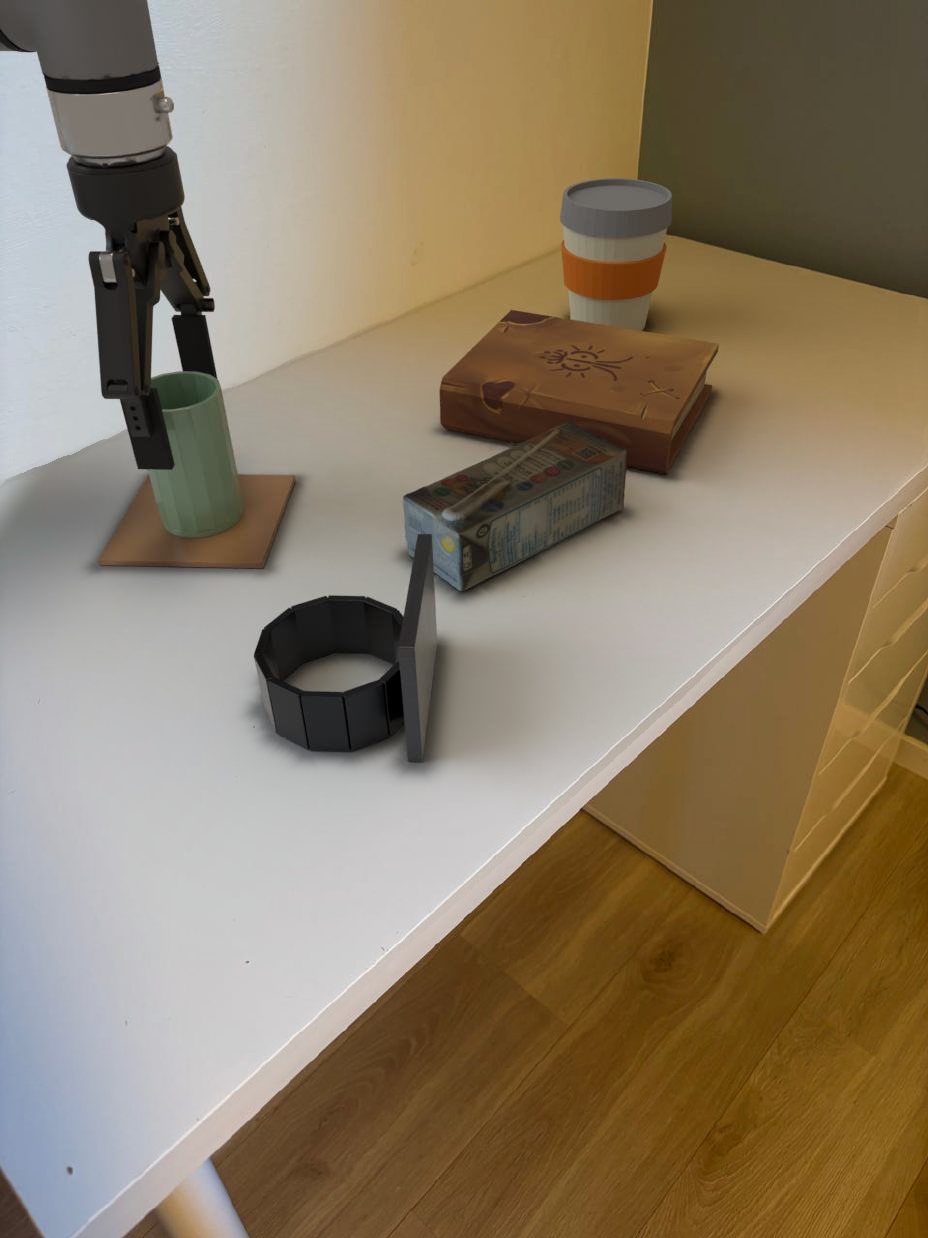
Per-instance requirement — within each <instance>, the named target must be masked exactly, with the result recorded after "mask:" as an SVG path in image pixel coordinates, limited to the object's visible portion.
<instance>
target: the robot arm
mask: <svg viewBox="0 0 928 1238" xmlns="http://www.w3.org/2000/svg"><path fill="white" fill-rule="evenodd" d="M0 52H18V53H36V54H37V57H38V62H39V66H40V69H41V73H42V75H43V79H44V82H45V89H46V93H47V97H48V101H49V104H50V109H51V113H52V116H53V122H54V125H55V129H56V133H57V138H58V141H59V145H60V148H61V150H62V151H63V152H65V154H68V155H70V157H69V158H68V161H67V163H66V165H65V167H66V169H67V174H68V177H69V182H70V187H71V190H72V194H73V197H74V201H75V205H76V209H77V211H78V212H79V213H80V215H81V216H83V217H84V218H86V219H88V220H90V221H94V222H96V223H98V224H99V225H101V226H102V227H103V228H104V235H105V250H98V251H97V250H92V251H91V250H90V251H89V252H88V264H89V270H90V275H91V279H92V283H93V284H92V285H93V292H94V293H93V294H94V304H95V317H96V318H95V319H96V321H95V322H96V335H97V337H96V338H97V350H98V364H99V380H100V391H101V396H102V398H103V399H104V400H119V403H120V406H121V410H122V414H123V417H124V421H125V425H126V429H127V433H128V436H129V441H130V444H131V449H132V452H133V456H134V460H135V464H136V467H137V470H148V469H153V470H172V469H173V467H174V465H175V463H174V459H173V455H172V451H171V446H170V442H169V438H168V433H167V429H166V425H165V421H164V416H163V412H162V408H161V403H160V399H159V395H158V391H157V388H151V378H152V362H153V361H152V360H153V359H152V358H153V330H154V329H153V325H154V324H153V323H154V307H155V306H156V305H157V304H159V302H160V301H161V293H162V294H163V296H164V297H165V298H166V300H167V301H168V303H169V304H170V306H171V307H172V309H173V310H174V311H175V313H180V314H173V316H172V317H171V322H172V327H173V333H174V337H175V342H176V346H177V351H178V356H179V361H180V365H181V371H196V372H201V373H206V374H209V375H211V376H213V377H215V378H216V379H218V375H217V369H216V364H215V358H214V353H213V348H212V343H211V337H210V332H209V326H208V322H207V321H208V320H207V315H206V314H203V313H214V312H215V308H216V305H215V304H216V303H215V299H214V298H213V297H209V296H210V294H211V286H210V283H209V280H208V278H207V275H206V273H205V270H204V268H203V265H202V262H201V260H200V257H199V255H198V252H197V249H196V247H195V244H194V241H193V239H192V235H191V234H190V231H189V229H188V226H187V223H186V221H185V217H184V212H183V208H182V206H183V205H184V203H185V199H186V198H185V197H186V196H185V190H184V185H183V180H182V173H181V168H180V164H179V158H178V154H177V152H175V151H174V149H173V148H172V147H170V146H168V145H170V143H171V142H172V140H173V138H174V137H173V132H172V131H173V130H172V126H171V125H172V124H171V121H170V116H169V114H170V113H173V112H174V110H175V103H174V101H173V99H172V97H169V96H166V95H165V91H164V88H165V87H164V84H163V83H164V82H163V77H162V73H161V68H160V65H159V64H160V63H159V60H158V55H157V48H156V43H155V38H154V31H153V26H152V21H151V15H150V9H149V4H148V0H0ZM194 280H195V281H194Z"/></svg>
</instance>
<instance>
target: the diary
mask: <svg viewBox="0 0 928 1238" xmlns="http://www.w3.org/2000/svg"><path fill="white" fill-rule="evenodd" d="M719 347H720V343H718V342H712V341H705V340H699V339H694V338H687V337H680V336H675V335H669V334H662V333H656V332H650V331H644V330H642V331H639V330H632V329H626V328H620V327H614V326H608V325H602V324H596V323H589V322H583V321H577V320H571V319H570V318H565V317H557V316H551V315H546V314H539V313H535V312H534V313H533V312H526V311H523V310H522V311H521V310H515V309H511V310H509V311H508V312H507V313H506V314H505V315H504V316H503V317H502V318H501V319H500V320H499V321H498V322H497V323H496V324H495V325H494V326H493V327H492V328H491V329H490V330H489V331H488V332H487V333H486V334H485V335H484V336H483V337H482V338H481V339H480V340H478V341H477V342H476V344H475V345H474V346H473V347H472V348H470V350H469V351H467V352H466V354H465V355H463V357H462V358H461V359H459V360H458V361H457V362H456V363H455V364H454V365H453V366H452V367H451V368H450V369H449V370H448V371H447V372H446V373H445V374H444V375H443V376H442V379H441V382H440V385H439V418H440V420H439V421H440V422H439V424H440V425H441V426H442V428H443V429H447V430H452V431H456V432H459V433H460V432H461V433H466V434H469V435H470V434H471V435H474V436H475V435H476V436H480V437H485V438H490V439H494V440H499V441H504V442H507V443H514V444H517V445H518V444H520V443H522V442H524V441H527V440H529V439H531V438H533V437H535V436H538V435H540V434H542V433H544V432H546V431H548V430H550V429H552V428H555V427H557V426H560V425H562V424H564V423H566V422H568V421H570V422H571V423H573V424H575V425H578V426H579V427H581V428H582V429H584V430H587V431H589V432H592V433H594V434H596V435H599V436H600V437H602V438H603V439H604V440H607V441H609V442H611V443H613V444H615V445H618V446H620V447H623V448H625V449H626V451H627V465H626V467H629V468H633V469H638V470H642V471H643V470H644V471H648V472H652V473H657V474H662V475H668V473H669V471H670V469H671V467H672V466H673V464H674V462H675V460H676V458H677V457H678V455H679V453H680V451H681V449H682V447H683V446H684V444H685V442H686V441H687V438H688V436H689V434H691V433H690V432H691V431H692V429H693V427H694V425H695V423H696V422H697V420H698V418H699V416H700V415H701V413H702V412H703V411H702V410H703V409H704V407H705V405H706V403H707V401H708V400H709V398H710V396H711V394H712V390H713V385H712V384H707V383H706V378H707V374H708V373H707V372H708V370H709V368H710V366H711V364H712V363H713V362H714V359H715V357H716V356H717V354H718V353H719Z"/></svg>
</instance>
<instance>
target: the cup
mask: <svg viewBox="0 0 928 1238" xmlns="http://www.w3.org/2000/svg"><path fill="white" fill-rule="evenodd" d="M151 388H157V391H158V395H159V399H160V403H161V408H162V412H163V416H164V421H165V425H166V429H167V433H168V438H169V442H170V446H171V451H172V455H173V459H174V463H175V465H174V467H173V469H172V470H153V469H147V472H148V473H147V474H149V477H150V480H151V484H152V488H153V492H154V496H155V500H156V504H157V508H158V512H159V516H160V520H161V522H162V525H163V527H164V528H165V529H166V530H167V531H168V532H170V533H172V534H174V535H176V536H180V537H186V538H200V537H207V536H212V535H215V534H219V533H221V532H224V531H226V530H228V529H230V528H231V527H233V526H234V525H235V524H237V523H238V522H239V520H240V519H241V518H242V516H243V513H244V507H243V499H242V494H241V489H240V484H239V478H238V474H239V473H238V469H237V464H236V457H235V452H234V448H233V447H234V446H233V443H232V438H231V432H230V425H229V421H228V416H227V411H226V405H225V400H224V396H223V390H222V386H221V383H220V380H219V379H218V378H217V379H216V378H215V377H213V376H211V375H209V374H206V373H201V372H196V371H183V370H180V371H178V370H177V371H174V372H173V371H172V372H166V373H161V374H158V375H155V376H151Z"/></svg>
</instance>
